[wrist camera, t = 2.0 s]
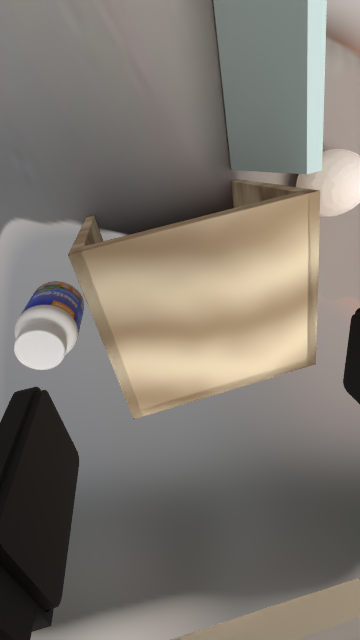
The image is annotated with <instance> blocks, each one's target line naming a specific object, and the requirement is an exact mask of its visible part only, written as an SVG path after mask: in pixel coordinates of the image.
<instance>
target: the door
mask: <svg viewBox="0 0 360 640" xmlns="http://www.w3.org/2000/svg"><path fill="white" fill-rule="evenodd" d="M213 2H214V11H215V21H216V30H217V40H218V49H219V58H220V68H221V77H222V86H223V96H224V105H225V115H226V124H227V133H228V143H229V152H230V162H231V170H244V171H260V172H277V173H294V174H310V173H314V172H318V171H322V150H323V114H324V78H325V43H326V6H327V5H326V4H327V0H213Z"/></svg>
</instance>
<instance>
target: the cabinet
mask: <svg viewBox="0 0 360 640" xmlns="http://www.w3.org/2000/svg"><path fill="white" fill-rule="evenodd" d="M231 186H232V195H233V205H234V208H233V209H229V210H225V211H221V212H217V213H213V214H209V215H205V216H202V217H198V218H194V219H190V220H186V221H182V222H178V223H174V224H170V225H166V226H162V227H158V228H154V229H150V230H147V231H143V232H139V233H135V234H131V235H127V236H123V237H119V238H115V239H111V240H108V241H103V239H102V236H101V233H100V230H99V227H98V224H97V221H96V218H95V215H93V216H89V217H86V219H85V221H84V223H83V225H82V227H81V229H80V232H79V234H78V236H77V238H76V240H75V242H74V244H73V246H72V248H71V250H70V252H69V254H68V256H69V258H70V261H71V263H72V266H73V268H74V271H75V273H76V276H77V278H78V281H79V283H80V286H81V288H82V291H83V293H84V296H85V298H86V301H87V303H88V306H89V308H90V311H91V313H92V316H93V318H94V321H95V323H96V326H97V328H98V331H99V333H100V336H101V339H102V341H103V344H104V346H105V349H106V350H107V354H108V356H109V358H110V361H111V363H112V366H113V368H114V371H115V373H116V376H117V378H118V381H119V384H120V386H121V389H122V391H123V394H124V396H125V399H126V401H127V404H128V406H129V409H130V411H131V414H132V416H133V419H135V418H139V417H142V416H146V415H149V414H152V413H155V412H159V411H162V410H165V409H169V408H172V407H175V406H179V405H182V404H185V403H189V402H192V401H195V400H199V399H202V398H205V397H209V396H212V395H215V394H219V393H222V392H225V391H228V390H231V389H235V388H238V387H242V386H245V385H248V384H252V383H255V382H258V381H262V380H265V379H268V378H272V377H275V376H278V375H281V374H285V373H288V372H292V371H295V370H298V369H302V368H305V367H308V366H311V365H315V364H316V337H317V334H316V333H317V299H318V261H319V223H320V190H313V189H306V188H298V187H291V186H283V185H276V184H268V183H261V182H253V181H246V180H234V181H231Z"/></svg>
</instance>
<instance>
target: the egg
mask: <svg viewBox="0 0 360 640" xmlns="http://www.w3.org/2000/svg"><path fill="white" fill-rule="evenodd" d="M296 187H298V188H306V189H313V190H320V216H324V217H329V216H336V215H340V214H342V213H344V212H347V211H349V210H351V209H352V208H354V207H355V206H356V205H357V204H359V203H360V156H359V155H358V154H356V153H355V152H352V151H349V150H345V149H331V150H327V151H323V152H322V171H318V172H314V173H310V174H299V175H298V178H297V182H296Z"/></svg>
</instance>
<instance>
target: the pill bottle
mask: <svg viewBox="0 0 360 640" xmlns="http://www.w3.org/2000/svg"><path fill="white" fill-rule="evenodd" d="M83 310H84V302H83V298H82V296H81V294H80V293H79V292H78V291H77V290H76V289H75V288H74V287H73V286H71V285H69V284H67V283H64V282H57V281H55V282H48V283H46V284H43V285H42V286H40V287H39V288H38V289H37V290H36V291H35V293H34V294H33V296H32V297H31V299H30V301H29V302H28V304H27V305H26V307H25V309H24V310H23V312H22V313H21V315H20V317H19V318H18V320H17V322H16V325H15V331H14V332H15V338H16V342H15V345H14V352H15V355H16V357H17V358H18V360H19V361H20V362H21V363H22V364H24V365H26V366H28V367H30V368H33V369H38V370H45V369H50V368H53V367H55V366H57V365H58V364H59V363H60V362H61V361H62V360H63V358H64V356H65V354H67V353H68V352H69V351H70V350H71V349H72V348H73V347H74V345H75V343H76V341H77V337H78V333H79V329H80V324H81V319H82V315H83Z"/></svg>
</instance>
